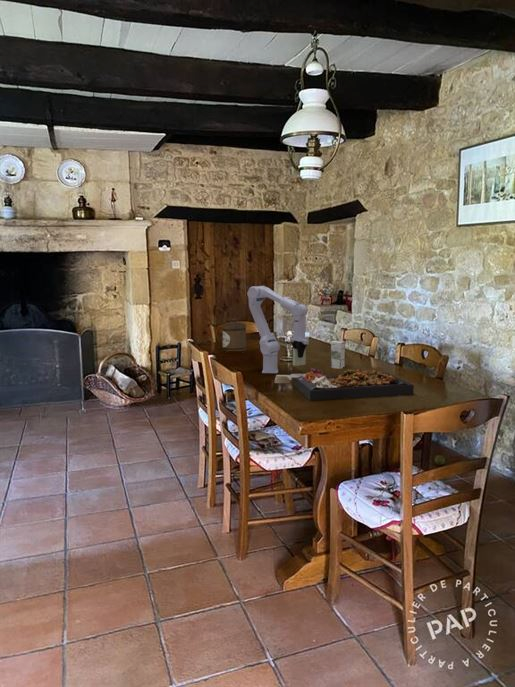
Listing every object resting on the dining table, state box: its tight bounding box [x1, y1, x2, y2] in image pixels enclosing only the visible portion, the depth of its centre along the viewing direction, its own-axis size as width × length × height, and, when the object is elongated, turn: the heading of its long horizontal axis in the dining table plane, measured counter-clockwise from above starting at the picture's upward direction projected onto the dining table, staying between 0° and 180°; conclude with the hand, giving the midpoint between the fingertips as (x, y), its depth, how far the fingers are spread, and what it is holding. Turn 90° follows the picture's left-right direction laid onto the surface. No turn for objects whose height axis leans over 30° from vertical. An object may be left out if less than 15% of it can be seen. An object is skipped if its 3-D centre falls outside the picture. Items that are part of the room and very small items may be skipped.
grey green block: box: [292, 348, 307, 367], centre depth 243 cm, size 2×6×8 cm, turn 115°
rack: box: [274, 374, 292, 381], centre depth 239 cm, size 5×8×2 cm, turn 86°
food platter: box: [293, 364, 415, 402], centre depth 217 cm, size 45×25×10 cm, turn 101°
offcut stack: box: [274, 375, 291, 384], centre depth 232 cm, size 2×7×3 cm, turn 88°
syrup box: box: [330, 339, 346, 370], centre depth 263 cm, size 6×6×14 cm
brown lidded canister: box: [221, 317, 247, 351], centre depth 311 cm, size 15×15×22 cm
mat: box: [290, 373, 307, 379], centre depth 245 cm, size 8×8×1 cm
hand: (299, 357), depth 244 cm, fingers closed on grey green block, 2 cm apart
